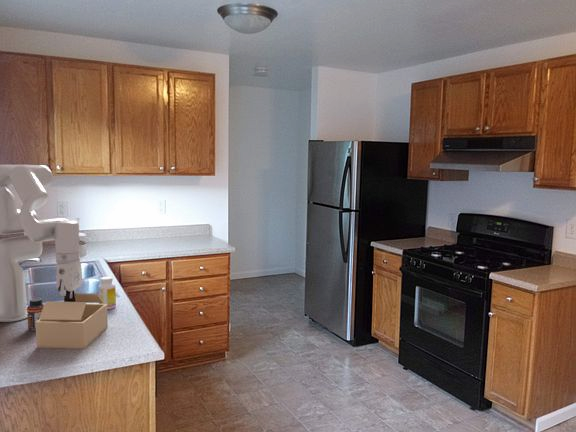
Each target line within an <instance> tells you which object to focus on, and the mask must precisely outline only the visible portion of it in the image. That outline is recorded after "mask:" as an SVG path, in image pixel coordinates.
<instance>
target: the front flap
mask: <svg viewBox="0 0 576 432" xmlns="http://www.w3.org/2000/svg"><path fill="white" fill-rule="evenodd" d="M43 304H44V307H43V310H42V312H41V315H40V318H39V319H40V320H81V318H82V315H83V312H84V309H85V305H86V304H87V303H86V302H64V301H50V300H48V301H47V300H46V301H45V302H44V303H43Z"/></svg>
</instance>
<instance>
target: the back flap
mask: <svg viewBox="0 0 576 432" xmlns="http://www.w3.org/2000/svg"><path fill="white" fill-rule="evenodd" d="M61 297H62V299H63V300H64V298H63V296H61ZM75 301H76V302H86V304H99V303H103V300H102V299H101V297H100V296H99V293H92V292H90V293H87V292H85V293H84V292H79V293H78V292H76V296H75Z"/></svg>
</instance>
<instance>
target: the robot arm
mask: <svg viewBox="0 0 576 432" xmlns="http://www.w3.org/2000/svg"><path fill="white" fill-rule="evenodd" d="M53 181H54V176H53V172H52V170H51V169H50V168H49V167H48V166H46V165H44V164H0V235H2V236H6V235H16V234H21V233H22V234H24V235H23V236H13V237H6V238H1V239H0V323H2V322H3V323H10V322H12V323H13V322H17V321H21V320H25V319H28V317H27V307H28V304H27V291H26V287H27V286H26V276H25V275H26V273H25V271H24V268H23V267H22V266H20V264H19V263H18V262H21V261H29V260H33V259H37V258H39V257H40V256H41V255H42V252H43V243H44V242H50V241H51V242H52V241H54V246H55V262H56V275H55V276H56V277H55V278H56V279H55V280H56V281H55V282H56V290H57V291H58V292H60V293H59V296H60V297H62V296H63V297H62V299H63V298H64V299H63V302H76V301H75V296H76V293H77V289H79V287H82V285H83V283H84V281H83V280H84V279H83V272H82V263H81V258H80V248H79V241H80V237H79V233H80V224H79V225H78V221H75V220H69V219H67V218H65V217H64V218H63V217H57V218H55V217H54V218H46V219H45V218H44V219H39V216H38V214H37V213H36V210H38V209H40V208H41V207H43V206H44V205H45V204H46V203H47V202H48V201H49V194H48V192H47V190H46V189H45V188H48V187H50V186H51V185H52V183H53ZM8 188H14V190H15V192H16V193H17V195H18V197H19V198H20V201H21V202H22V203H23V204H22V206H21V208H19V209H18V208H17V203H16V197H15V195H14V194H13V193H12V191H11V190H9V189H8Z"/></svg>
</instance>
